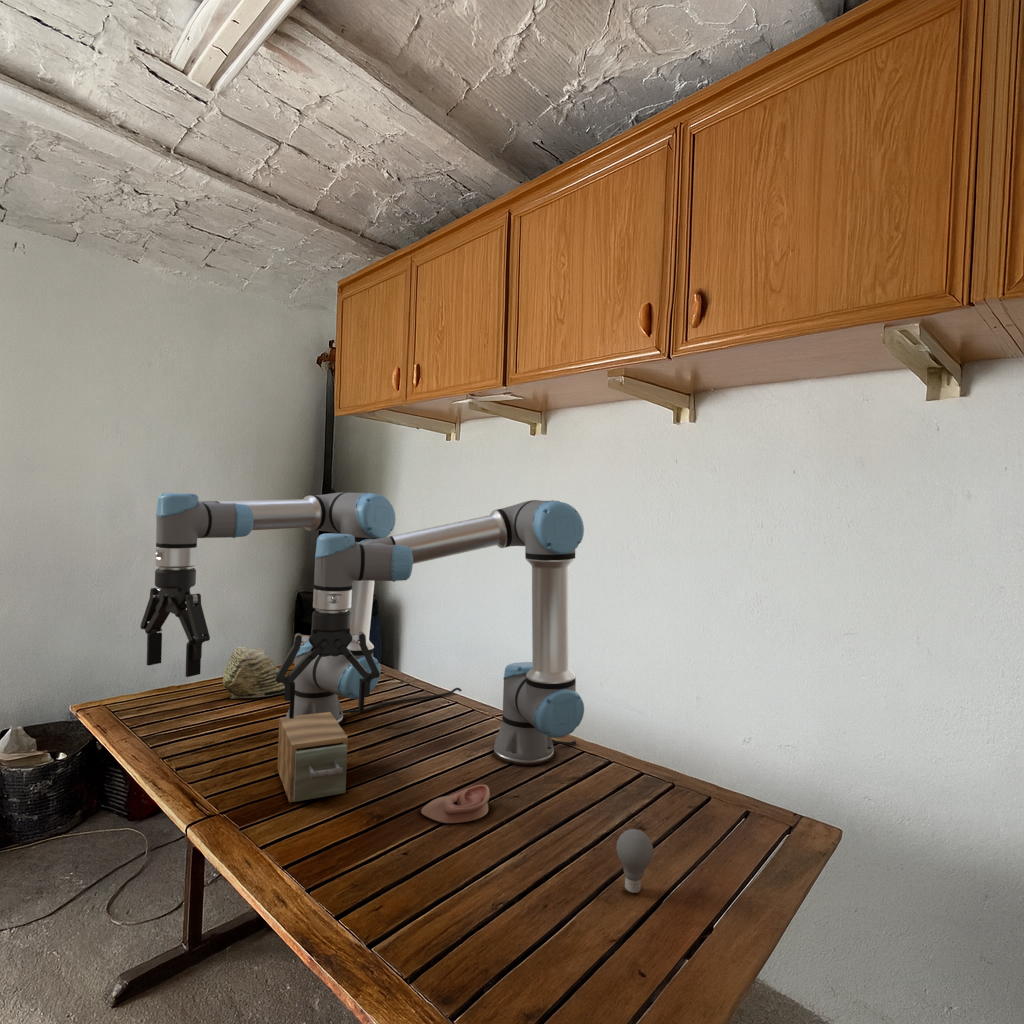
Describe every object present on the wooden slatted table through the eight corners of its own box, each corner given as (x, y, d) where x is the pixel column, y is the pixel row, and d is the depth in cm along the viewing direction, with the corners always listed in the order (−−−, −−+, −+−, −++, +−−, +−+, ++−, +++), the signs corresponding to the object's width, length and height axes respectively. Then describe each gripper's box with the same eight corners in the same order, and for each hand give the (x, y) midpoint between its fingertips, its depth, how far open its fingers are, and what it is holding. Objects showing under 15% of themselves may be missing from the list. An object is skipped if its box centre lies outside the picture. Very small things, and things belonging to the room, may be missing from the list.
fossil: (218, 695, 195) (220, 647, 195) (278, 685, 208) (279, 640, 207) (228, 703, 189) (230, 653, 188) (289, 692, 201) (290, 645, 201)
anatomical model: (416, 799, 126) (434, 775, 137) (415, 819, 126) (433, 793, 137) (480, 808, 123) (494, 783, 134) (479, 829, 123) (493, 802, 134)
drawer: (352, 804, 129) (353, 755, 129) (299, 814, 124) (301, 764, 124) (329, 763, 148) (330, 721, 148) (282, 771, 143) (284, 727, 143)
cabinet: (345, 792, 136) (347, 737, 136) (289, 802, 131) (291, 744, 130) (328, 761, 151) (330, 711, 151) (277, 769, 146) (279, 717, 146)
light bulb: (610, 879, 108) (613, 822, 108) (644, 879, 109) (647, 822, 109) (619, 902, 102) (622, 840, 102) (655, 901, 103) (658, 840, 103)
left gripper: (123, 563, 134) (120, 663, 134) (195, 574, 121) (192, 684, 122) (158, 561, 140) (155, 656, 141) (230, 571, 128) (227, 676, 128)
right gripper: (265, 613, 120) (260, 724, 121) (396, 612, 129) (391, 715, 129) (266, 607, 127) (261, 711, 128) (390, 606, 136) (385, 704, 137)
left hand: (172, 669), depth 131 cm, fingers open, 13 cm apart
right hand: (326, 714), depth 129 cm, fingers open, 13 cm apart
